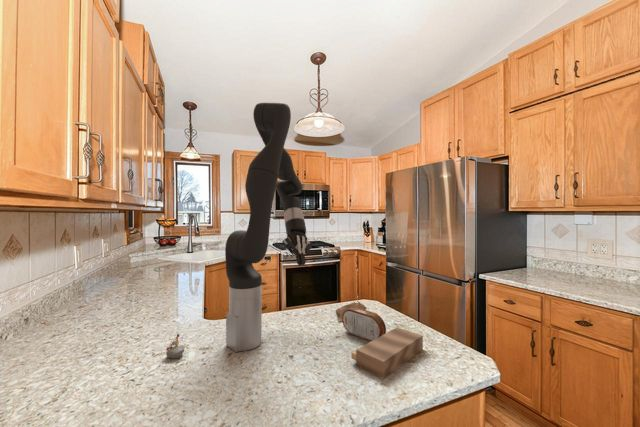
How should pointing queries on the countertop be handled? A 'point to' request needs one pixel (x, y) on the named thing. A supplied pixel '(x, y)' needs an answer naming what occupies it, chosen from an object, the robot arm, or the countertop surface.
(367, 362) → the walnut plank
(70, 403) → the countertop surface
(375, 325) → the tin
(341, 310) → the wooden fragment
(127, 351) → the countertop surface
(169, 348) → the figurine
